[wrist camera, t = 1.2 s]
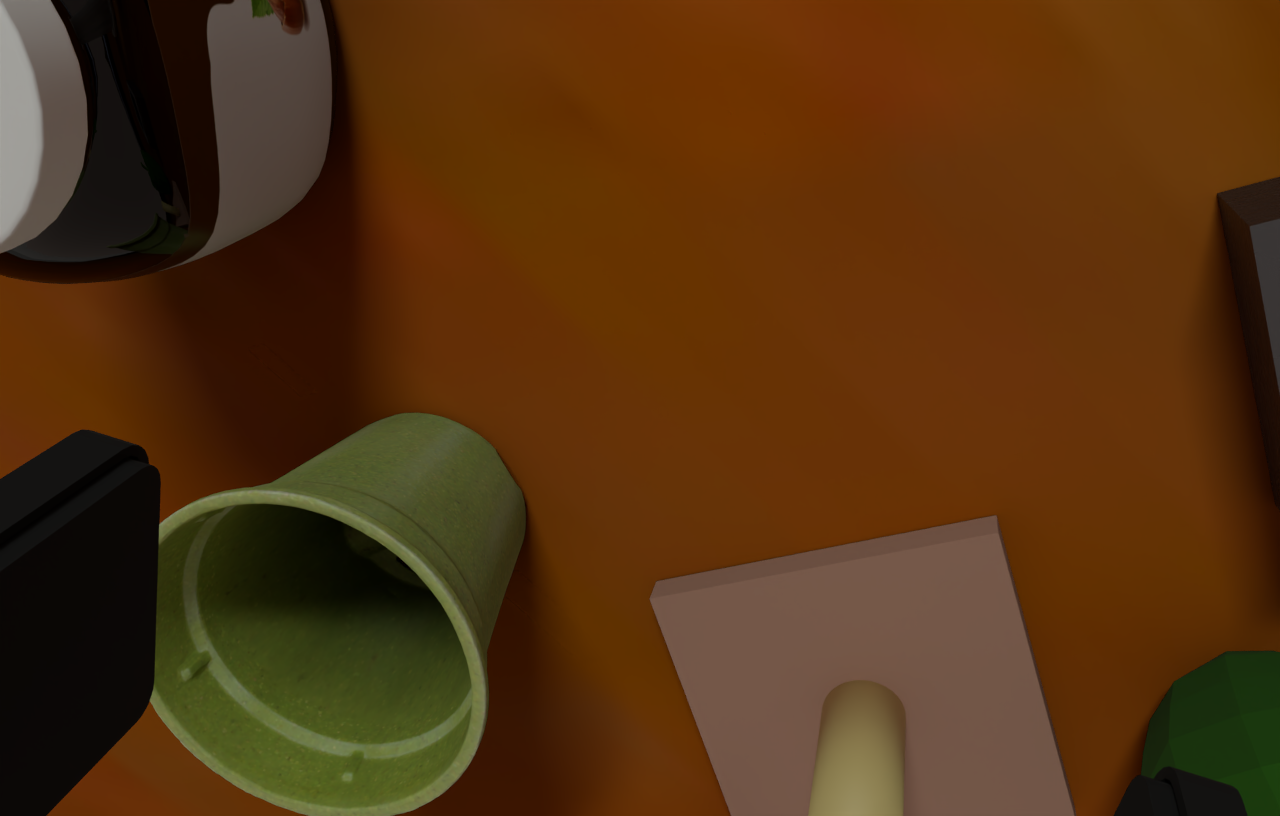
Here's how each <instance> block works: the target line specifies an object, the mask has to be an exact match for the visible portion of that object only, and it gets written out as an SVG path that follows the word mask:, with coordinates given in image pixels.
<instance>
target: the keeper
mask: <svg viewBox="0 0 1280 816" xmlns="http://www.w3.org/2000/svg"><path fill="white" fill-rule="evenodd" d="M650 602H651V604H652V607H653V609H654V612H655V615H656V617H657V620H658V623H659V625H660V628H661V631H662V633H663V636H664V639H665V641H666V644H667V647H668V649H669V652H670V655H671V657H672V660H673V663H674V665H675V668H676V670H677V673H678V676H679V678H680V681H681V684H682V686H683V689H684V692H685V694H686V697H687V700H688V702H689V705H690V708H691V710H692V713H693V716H694V718H695V721H696V724H697V726H698V729H699V731H700V734H701V737H702V739H703V742H704V745H705V747H706V750H707V753H708V755H709V758H710V761H711V763H712V766H713V769H714V771H715V774H716V777H717V779H718V782H719V785H720V787H721V790H722V792H723V795H724V798H725V800H726V803H727V806H728V808H729V811H730V814H731V816H1076V811H1075V806H1074V802H1073V799H1072V795H1071V791H1070V788H1069V784H1068V780H1067V776H1066V773H1065V769H1064V765H1063V762H1062V758H1061V754H1060V750H1059V747H1058V743H1057V739H1056V735H1055V732H1054V728H1053V724H1052V721H1051V717H1050V713H1049V709H1048V706H1047V702H1046V698H1045V694H1044V691H1043V687H1042V683H1041V680H1040V676H1039V672H1038V668H1037V665H1036V661H1035V657H1034V653H1033V650H1032V646H1031V642H1030V639H1029V635H1028V631H1027V627H1026V624H1025V620H1024V616H1023V612H1022V609H1021V605H1020V601H1019V598H1018V594H1017V590H1016V586H1015V583H1014V579H1013V575H1012V572H1011V568H1010V564H1009V560H1008V557H1007V553H1006V549H1005V545H1004V542H1003V538H1002V534H1001V531H1000V527H999V523H998V519H997V516H996V515H995V516H990V517H985V518H980V519H974V520H969V521H964V522H959V523H954V524H949V525H944V526H938V527H933V528H928V529H923V530H918V531H913V532H908V533H903V534H897V535H892V536H887V537H882V538H877V539H872V540H867V541H861V542H856V543H851V544H846V545H841V546H836V547H831V548H825V549H820V550H815V551H810V552H805V553H800V554H795V555H790V556H784V557H779V558H774V559H769V560H764V561H759V562H754V563H748V564H743V565H738V566H733V567H728V568H723V569H718V570H712V571H707V572H702V573H697V574H692V575H687V576H682V577H676V578H671V579H666V580H661V581H656V584H655V586H654V589H653V591H652V594H651V596H650Z"/></svg>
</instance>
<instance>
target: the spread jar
mask: <svg viewBox="0 0 1280 816" xmlns="http://www.w3.org/2000/svg"><path fill="white" fill-rule="evenodd" d="M337 72H338V64H337V45H336V35H335V28H334V23H333V17H332V12H331V8H330V4H329V0H0V275H2V276H6V277H10V278H15V279H20V280H26V281H33V282H42V283H58V284H73V283H92V282H106V281H115V280H123V279H129V278H134V277H139V276H143V275H147V274H151V273H155V272H159V271H162V270H166V269H170V268H173V267H176V266H180V265H183V264H186V263H189V262H191V261H194V260H197V259H199V258H202V257H204V256H207V255H209V254H211V253H214V252H216V251H219V250H221V249H223V248H225V247H227V246H229V245H231V244H233V243H235V242H237V241H239V240H241V239H243V238H245V237H247V236H249V235H251V234H253V233H255V232H257V231H258V230H260V229H262V228H264V227H266V226H267V225H269V224H271V223H273V222H274V221H276V220H278V219H280V218H281V217H282V216H283V215H285V214H286V213H287V212H288V211H290V210H291V209H292V208H293V207H294V206H295V205H297V204H298V203H299V202H300V201H301V200H302V199H303V198H304V197H305V195H306V194H307V192H308V191H309V190H310V188H311V187H312V185H313V184H314V182H315V181H316V180H317V178H318V177H319V175H320V172H321V169H322V167H323V164H324V161H325V158H326V154H327V151H328V147H329V143H330V139H331V135H332V131H333V124H334V117H335V107H336V92H337Z"/></svg>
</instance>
